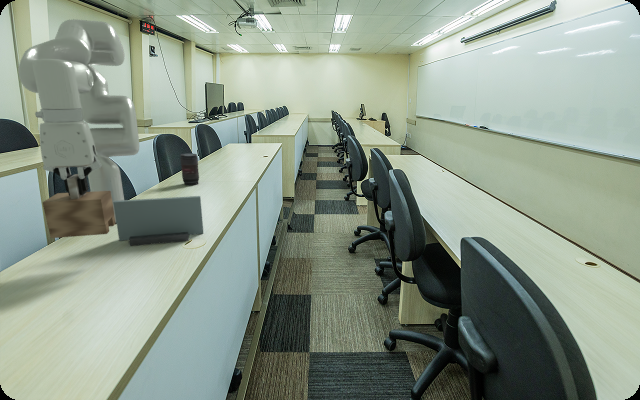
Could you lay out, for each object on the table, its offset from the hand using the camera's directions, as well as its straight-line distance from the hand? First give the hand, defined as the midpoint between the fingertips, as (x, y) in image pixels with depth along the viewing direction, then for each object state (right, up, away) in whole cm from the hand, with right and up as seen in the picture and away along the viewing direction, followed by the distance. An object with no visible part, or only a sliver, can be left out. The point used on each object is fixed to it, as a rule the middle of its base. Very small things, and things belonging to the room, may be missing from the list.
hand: (78, 193), depth 86 cm
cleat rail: (+12, -14, +18) cm, 26 cm away
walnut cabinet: (0, -9, +3) cm, 10 cm away
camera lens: (-6, +6, +92) cm, 92 cm away
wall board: (+10, -13, +23) cm, 28 cm away
